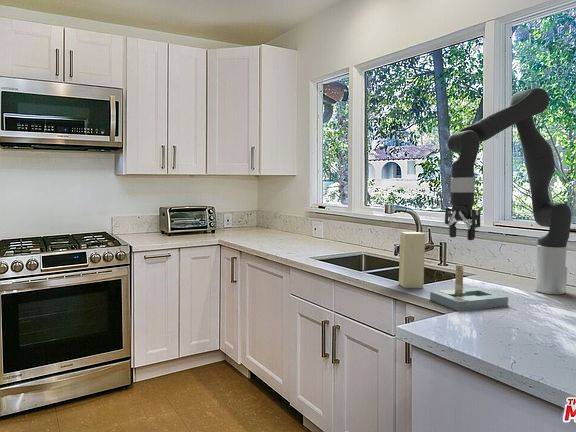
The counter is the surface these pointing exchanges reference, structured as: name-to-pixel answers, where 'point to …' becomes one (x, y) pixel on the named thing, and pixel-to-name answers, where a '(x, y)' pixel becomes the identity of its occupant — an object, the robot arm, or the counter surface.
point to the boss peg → (459, 281)
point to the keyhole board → (469, 299)
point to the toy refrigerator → (411, 259)
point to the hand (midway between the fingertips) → (461, 238)
